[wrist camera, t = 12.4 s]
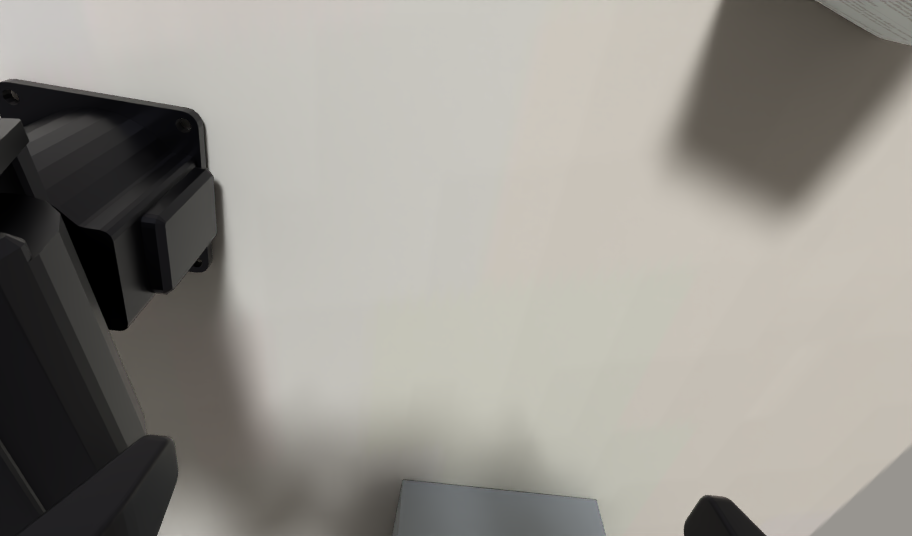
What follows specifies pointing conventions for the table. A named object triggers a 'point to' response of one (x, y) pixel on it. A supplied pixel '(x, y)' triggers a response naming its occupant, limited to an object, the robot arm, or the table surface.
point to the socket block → (491, 512)
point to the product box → (877, 17)
